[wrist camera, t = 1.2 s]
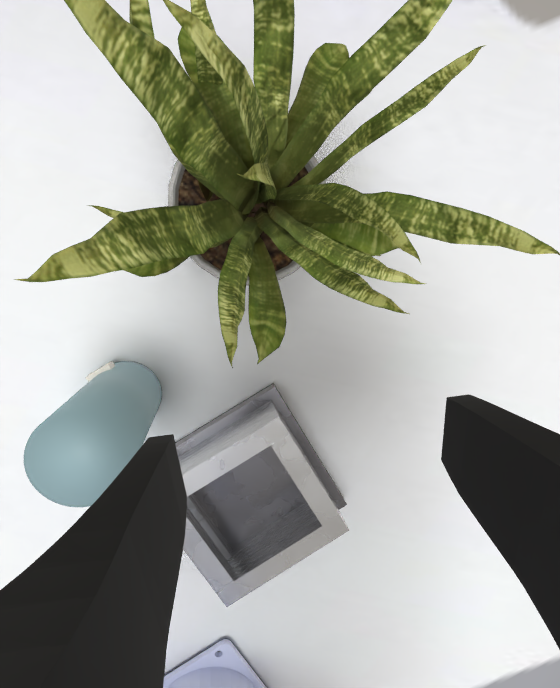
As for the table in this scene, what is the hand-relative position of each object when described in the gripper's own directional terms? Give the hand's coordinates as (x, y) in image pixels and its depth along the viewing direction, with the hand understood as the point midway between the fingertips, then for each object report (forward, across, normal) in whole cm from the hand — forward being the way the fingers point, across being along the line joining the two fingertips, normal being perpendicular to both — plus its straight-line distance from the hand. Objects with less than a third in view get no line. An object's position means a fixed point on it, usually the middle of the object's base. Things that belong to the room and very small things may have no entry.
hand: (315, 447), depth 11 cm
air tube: (+14, +9, +5) cm, 17 cm away
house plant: (+17, 0, -4) cm, 17 cm away
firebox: (+13, +3, +12) cm, 18 cm away
